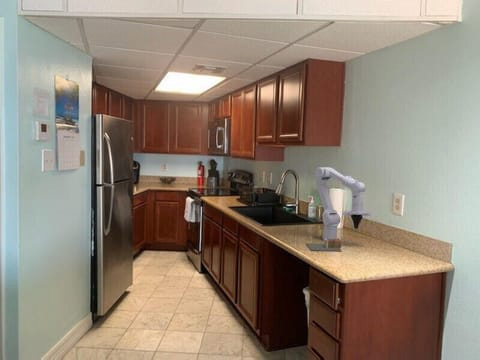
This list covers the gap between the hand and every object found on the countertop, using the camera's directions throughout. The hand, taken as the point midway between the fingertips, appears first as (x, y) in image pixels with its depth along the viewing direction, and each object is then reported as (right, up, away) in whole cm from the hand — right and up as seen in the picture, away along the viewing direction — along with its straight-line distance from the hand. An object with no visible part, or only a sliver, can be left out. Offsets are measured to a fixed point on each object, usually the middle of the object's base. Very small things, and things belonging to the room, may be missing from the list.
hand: (355, 228), depth 209 cm
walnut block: (-10, -8, -4) cm, 13 cm away
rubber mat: (-19, -10, -4) cm, 22 cm away
